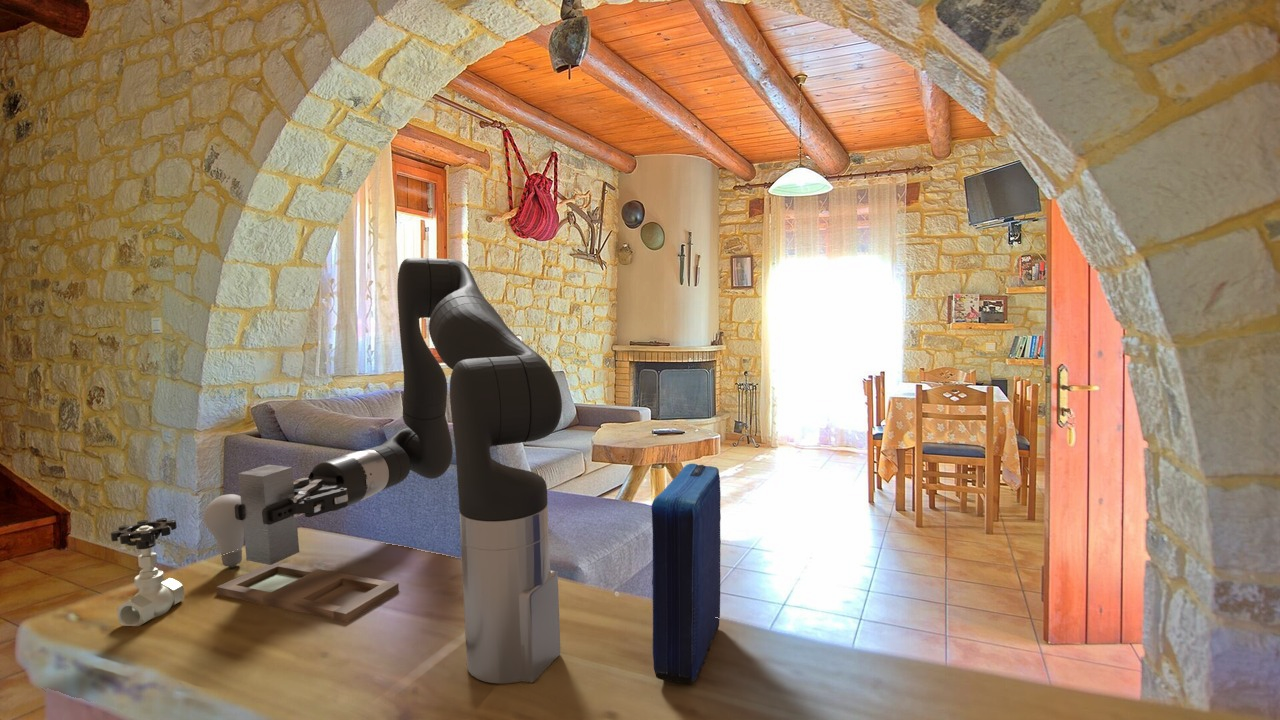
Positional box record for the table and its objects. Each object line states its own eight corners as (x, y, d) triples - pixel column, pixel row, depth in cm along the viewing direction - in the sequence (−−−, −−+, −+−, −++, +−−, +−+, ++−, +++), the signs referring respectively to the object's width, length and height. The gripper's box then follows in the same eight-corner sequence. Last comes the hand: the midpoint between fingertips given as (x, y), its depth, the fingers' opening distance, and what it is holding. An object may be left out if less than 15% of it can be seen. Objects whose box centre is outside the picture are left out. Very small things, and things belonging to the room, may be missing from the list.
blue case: (683, 620, 83) (680, 458, 81) (726, 626, 81) (725, 461, 79) (648, 687, 69) (644, 494, 67) (700, 695, 67) (697, 498, 65)
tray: (399, 596, 91) (398, 583, 91) (347, 627, 83) (346, 613, 82) (275, 573, 99) (274, 561, 99) (217, 599, 91) (216, 586, 91)
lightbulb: (264, 563, 103) (258, 492, 102) (222, 578, 98) (215, 503, 96) (242, 555, 106) (236, 486, 105) (200, 570, 101) (193, 497, 100)
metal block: (299, 552, 94) (292, 467, 93) (270, 564, 90) (262, 476, 89) (275, 547, 96) (268, 464, 94) (246, 560, 92) (238, 473, 90)
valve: (197, 607, 89) (188, 517, 88) (156, 632, 82) (147, 536, 81) (150, 606, 90) (141, 517, 88) (106, 631, 83) (96, 535, 82)
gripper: (313, 451, 107) (209, 482, 92) (385, 458, 102) (288, 492, 86) (317, 497, 108) (215, 536, 93) (388, 507, 103) (293, 549, 87)
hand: (251, 515), depth 90 cm, fingers closed on metal block, 4 cm apart
